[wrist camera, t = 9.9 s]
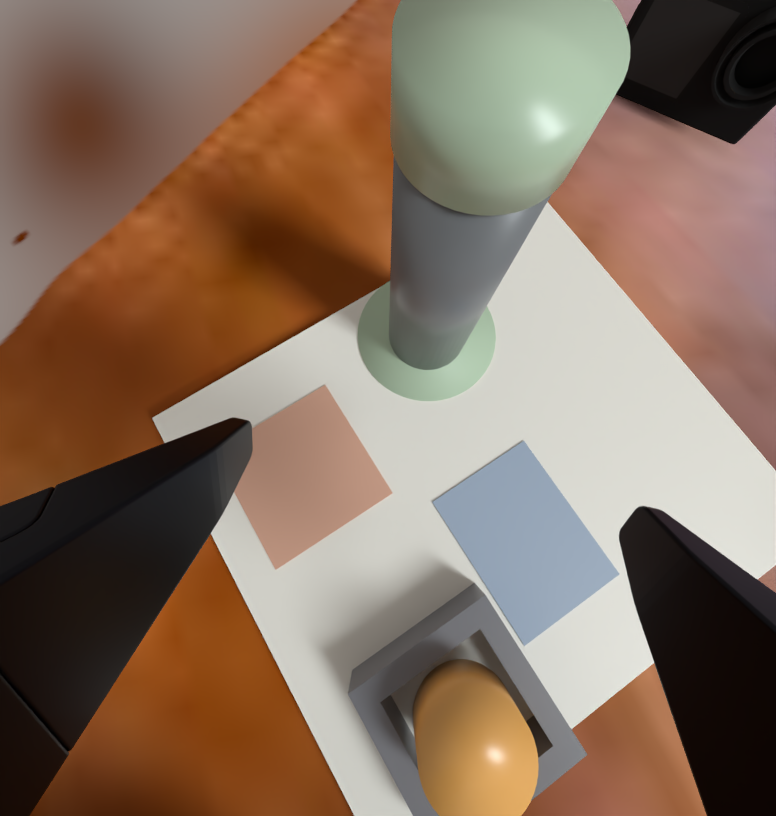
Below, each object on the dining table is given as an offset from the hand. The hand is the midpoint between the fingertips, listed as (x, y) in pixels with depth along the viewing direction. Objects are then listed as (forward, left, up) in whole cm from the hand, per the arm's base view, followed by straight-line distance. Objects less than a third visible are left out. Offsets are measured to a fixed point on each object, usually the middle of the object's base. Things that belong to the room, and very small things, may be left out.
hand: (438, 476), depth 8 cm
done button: (-4, -10, -9) cm, 14 cm away
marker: (+5, +6, -11) cm, 14 cm away
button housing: (-4, -10, -11) cm, 15 cm away
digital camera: (+30, +12, -12) cm, 35 cm away
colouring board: (+3, -2, -12) cm, 12 cm away
